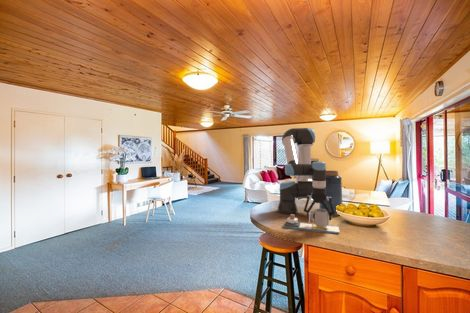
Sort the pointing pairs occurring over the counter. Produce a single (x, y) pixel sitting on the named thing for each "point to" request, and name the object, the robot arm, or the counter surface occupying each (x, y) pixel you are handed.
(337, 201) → the vase
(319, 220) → the cup
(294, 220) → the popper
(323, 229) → the game board
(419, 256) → the counter surface
